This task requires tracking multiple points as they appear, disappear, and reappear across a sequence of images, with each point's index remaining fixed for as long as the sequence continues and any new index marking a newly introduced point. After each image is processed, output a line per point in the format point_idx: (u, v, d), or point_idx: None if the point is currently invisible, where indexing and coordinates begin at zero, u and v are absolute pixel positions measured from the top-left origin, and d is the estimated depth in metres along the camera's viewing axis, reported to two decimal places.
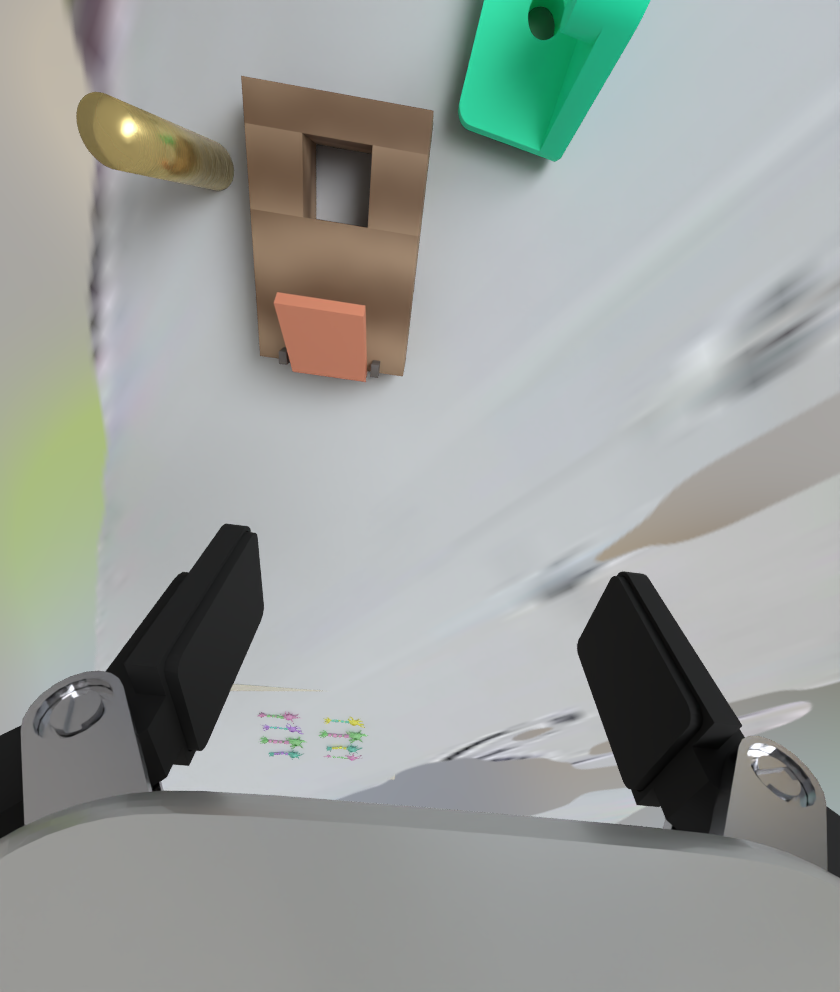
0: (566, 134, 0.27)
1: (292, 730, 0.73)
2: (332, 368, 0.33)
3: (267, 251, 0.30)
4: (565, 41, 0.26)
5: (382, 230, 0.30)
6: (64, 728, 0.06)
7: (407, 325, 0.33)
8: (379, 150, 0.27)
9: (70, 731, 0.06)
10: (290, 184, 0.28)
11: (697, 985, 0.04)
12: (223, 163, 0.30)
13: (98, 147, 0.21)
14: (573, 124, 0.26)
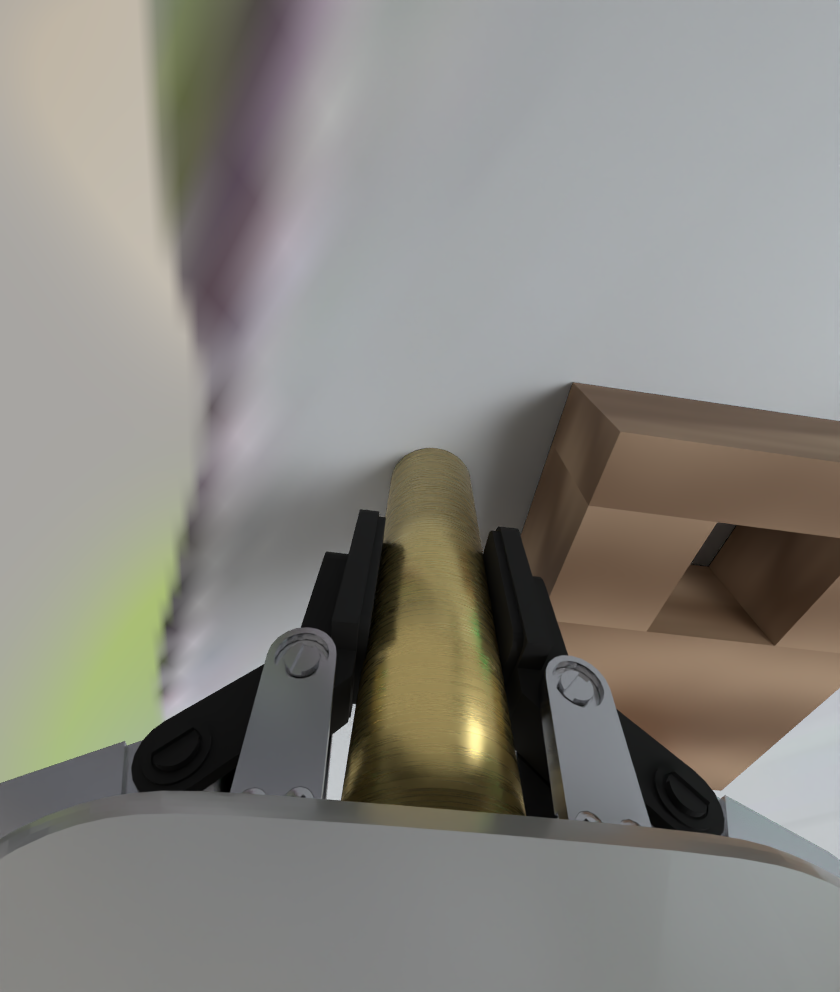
0: None
1: None
2: None
3: None
4: None
5: (802, 648, 0.14)
6: (290, 668, 0.07)
7: (769, 747, 0.18)
8: None
9: (292, 672, 0.07)
10: (646, 591, 0.13)
11: (697, 985, 0.04)
12: None
13: None
14: None
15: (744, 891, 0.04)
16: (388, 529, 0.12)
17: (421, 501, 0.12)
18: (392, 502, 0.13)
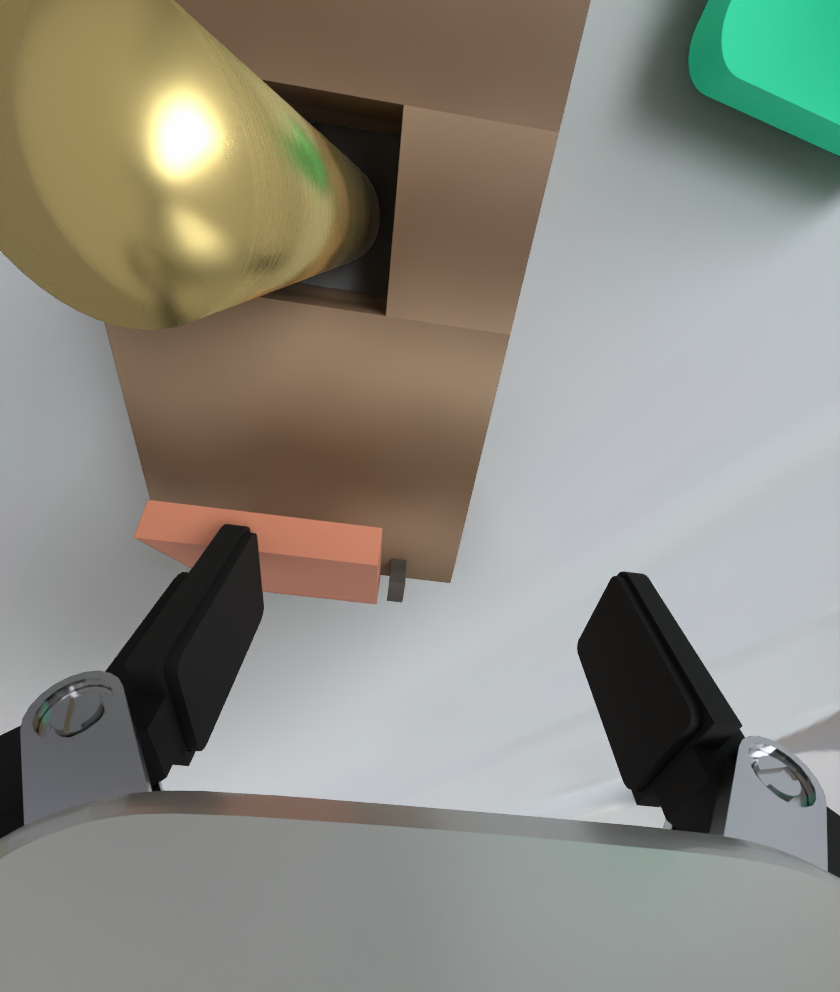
0: None
1: None
2: (307, 592, 0.16)
3: (148, 366, 0.13)
4: None
5: (421, 321, 0.12)
6: (64, 728, 0.06)
7: (466, 504, 0.16)
8: (422, 120, 0.10)
9: (70, 732, 0.06)
10: None
11: (697, 985, 0.04)
12: (373, 213, 0.13)
13: (46, 235, 0.04)
14: None
15: (744, 891, 0.04)
16: None
17: None
18: None
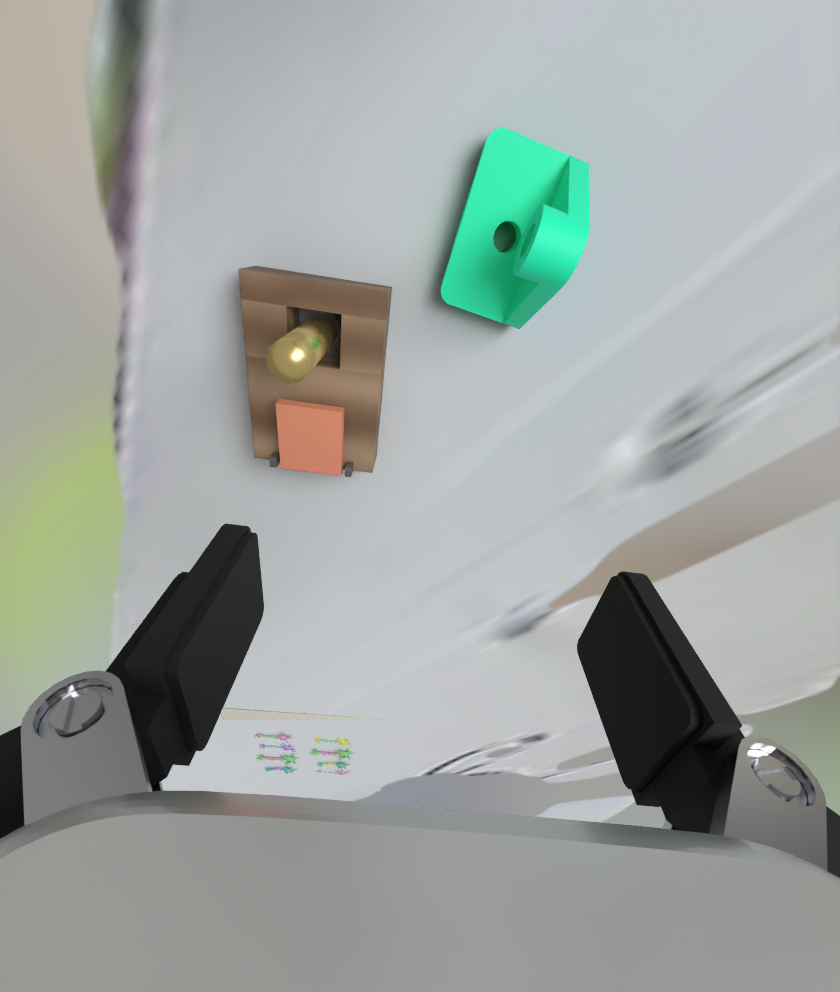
0: (522, 319, 0.35)
1: (286, 748, 0.80)
2: (314, 463, 0.41)
3: (259, 384, 0.38)
4: None
5: (351, 370, 0.37)
6: (64, 728, 0.06)
7: (374, 436, 0.41)
8: (347, 317, 0.35)
9: (70, 731, 0.06)
10: (278, 339, 0.36)
11: (697, 985, 0.04)
12: (336, 333, 0.38)
13: (278, 371, 0.29)
14: (526, 316, 0.34)
15: (744, 891, 0.04)
16: None
17: (310, 319, 0.35)
18: None
